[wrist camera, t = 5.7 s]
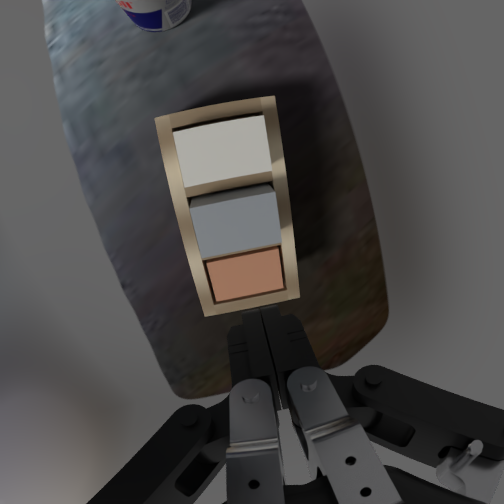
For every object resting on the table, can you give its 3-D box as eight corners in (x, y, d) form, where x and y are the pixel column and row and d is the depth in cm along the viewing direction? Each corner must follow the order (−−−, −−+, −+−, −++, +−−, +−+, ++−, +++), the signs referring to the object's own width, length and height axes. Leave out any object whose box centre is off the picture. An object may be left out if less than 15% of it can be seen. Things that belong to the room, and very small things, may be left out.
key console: (166, 119, 23) (154, 118, 18) (261, 101, 23) (274, 95, 18) (205, 283, 30) (204, 316, 25) (285, 267, 30) (299, 297, 25)
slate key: (192, 197, 21) (189, 208, 19) (267, 182, 22) (275, 191, 19) (202, 241, 23) (201, 258, 20) (273, 227, 23) (282, 242, 20)
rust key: (206, 247, 25) (206, 263, 23) (271, 234, 26) (278, 248, 23) (215, 282, 27) (216, 301, 24) (276, 270, 27) (283, 287, 24)
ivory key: (178, 131, 19) (172, 132, 16) (256, 116, 19) (263, 115, 17) (188, 179, 21) (184, 187, 18) (264, 164, 21) (272, 170, 18)
